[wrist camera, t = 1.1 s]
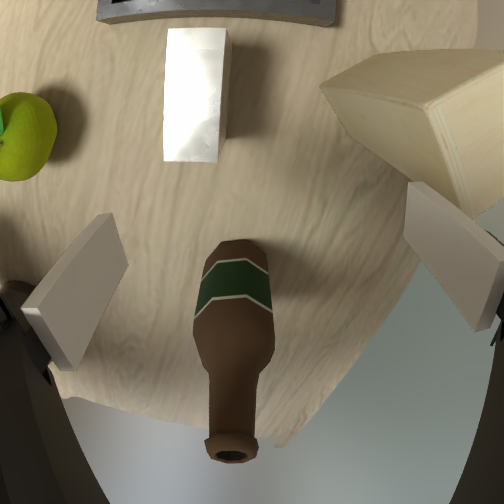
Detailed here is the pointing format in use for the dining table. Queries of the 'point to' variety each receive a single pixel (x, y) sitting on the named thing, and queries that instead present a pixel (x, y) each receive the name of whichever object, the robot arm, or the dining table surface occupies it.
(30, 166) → the fruit
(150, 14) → the rack
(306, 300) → the dining table surface
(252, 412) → the beer bottle
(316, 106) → the dining table surface
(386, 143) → the cream tall block
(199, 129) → the silver rectangular block
